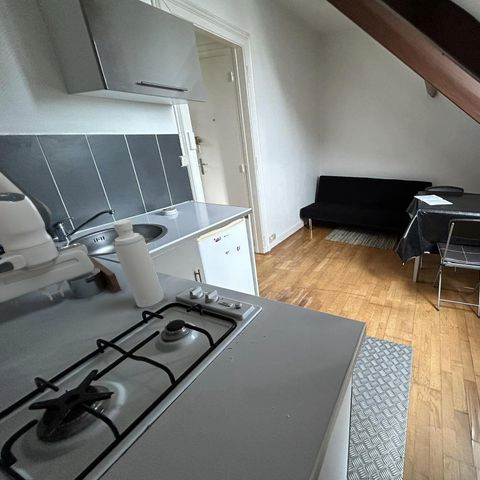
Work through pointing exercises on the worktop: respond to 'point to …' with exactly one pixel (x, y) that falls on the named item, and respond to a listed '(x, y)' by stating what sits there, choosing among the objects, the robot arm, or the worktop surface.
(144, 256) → the white bottle
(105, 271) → the backboard
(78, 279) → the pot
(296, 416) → the worktop surface
